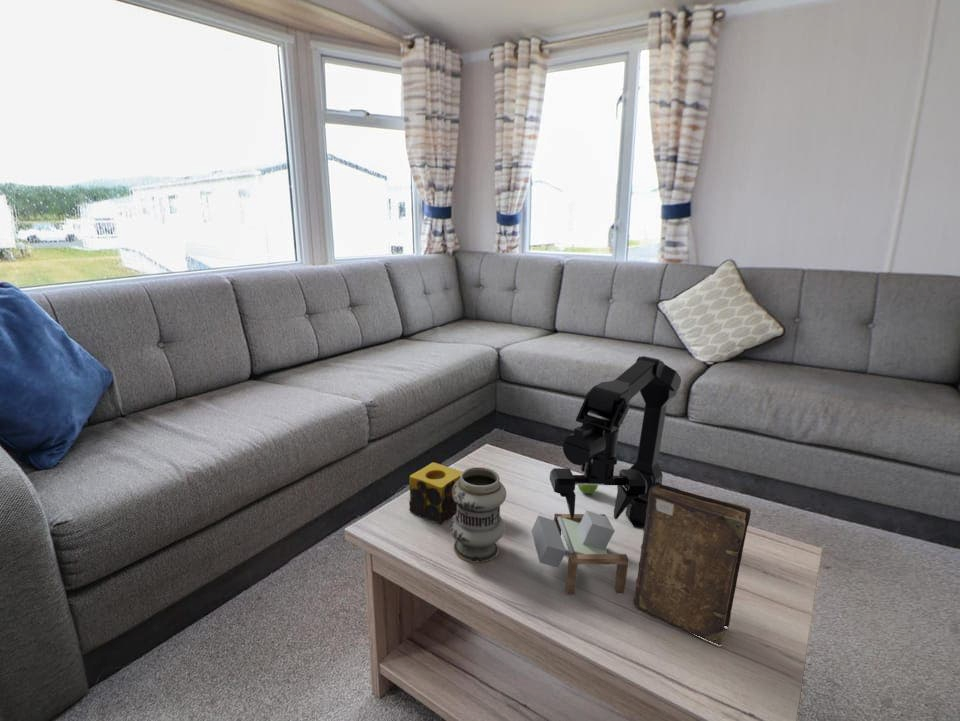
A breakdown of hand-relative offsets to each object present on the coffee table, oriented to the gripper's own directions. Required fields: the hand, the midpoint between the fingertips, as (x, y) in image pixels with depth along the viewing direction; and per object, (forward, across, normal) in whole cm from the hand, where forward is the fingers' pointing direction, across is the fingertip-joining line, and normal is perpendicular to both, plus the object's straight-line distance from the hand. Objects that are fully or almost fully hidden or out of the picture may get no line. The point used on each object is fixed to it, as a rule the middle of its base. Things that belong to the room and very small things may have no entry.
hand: (593, 518), depth 108 cm
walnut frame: (+12, 0, 0) cm, 12 cm away
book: (+12, -14, +14) cm, 23 cm away
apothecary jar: (+12, +24, -6) cm, 27 cm away
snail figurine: (+12, -8, -32) cm, 36 cm away
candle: (+12, +32, -22) cm, 41 cm away
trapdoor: (+9, +5, 0) cm, 10 cm away
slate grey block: (+5, 0, 0) cm, 5 cm away
